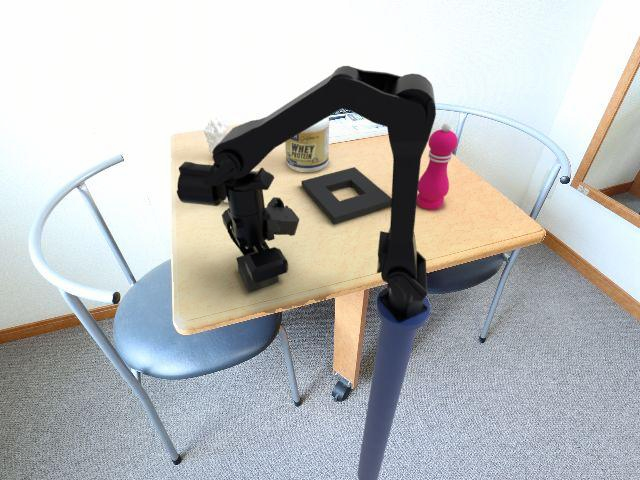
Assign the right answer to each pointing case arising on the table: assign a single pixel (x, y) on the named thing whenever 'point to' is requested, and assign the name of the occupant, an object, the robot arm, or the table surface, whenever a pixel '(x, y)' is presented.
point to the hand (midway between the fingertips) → (258, 273)
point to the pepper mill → (437, 169)
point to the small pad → (246, 277)
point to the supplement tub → (309, 148)
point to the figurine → (215, 133)
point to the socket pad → (351, 207)
